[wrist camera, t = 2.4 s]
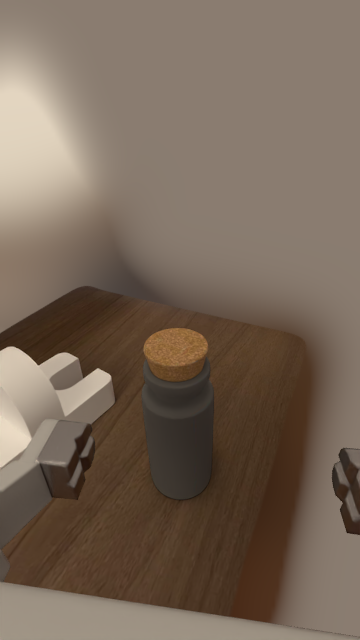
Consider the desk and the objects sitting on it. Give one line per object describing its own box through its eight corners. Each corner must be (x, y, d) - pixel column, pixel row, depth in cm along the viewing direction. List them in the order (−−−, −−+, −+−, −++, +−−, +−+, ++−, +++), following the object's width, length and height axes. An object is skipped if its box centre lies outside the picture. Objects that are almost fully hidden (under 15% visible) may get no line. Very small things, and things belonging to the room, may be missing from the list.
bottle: (184, 435, 35) (180, 315, 27) (224, 473, 31) (233, 346, 23) (139, 467, 31) (119, 343, 24) (177, 514, 28) (168, 383, 20)
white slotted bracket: (119, 399, 39) (107, 330, 34) (-31, 530, 27) (-87, 452, 22) (68, 371, 44) (51, 306, 39) (-79, 471, 32) (-134, 396, 27)
